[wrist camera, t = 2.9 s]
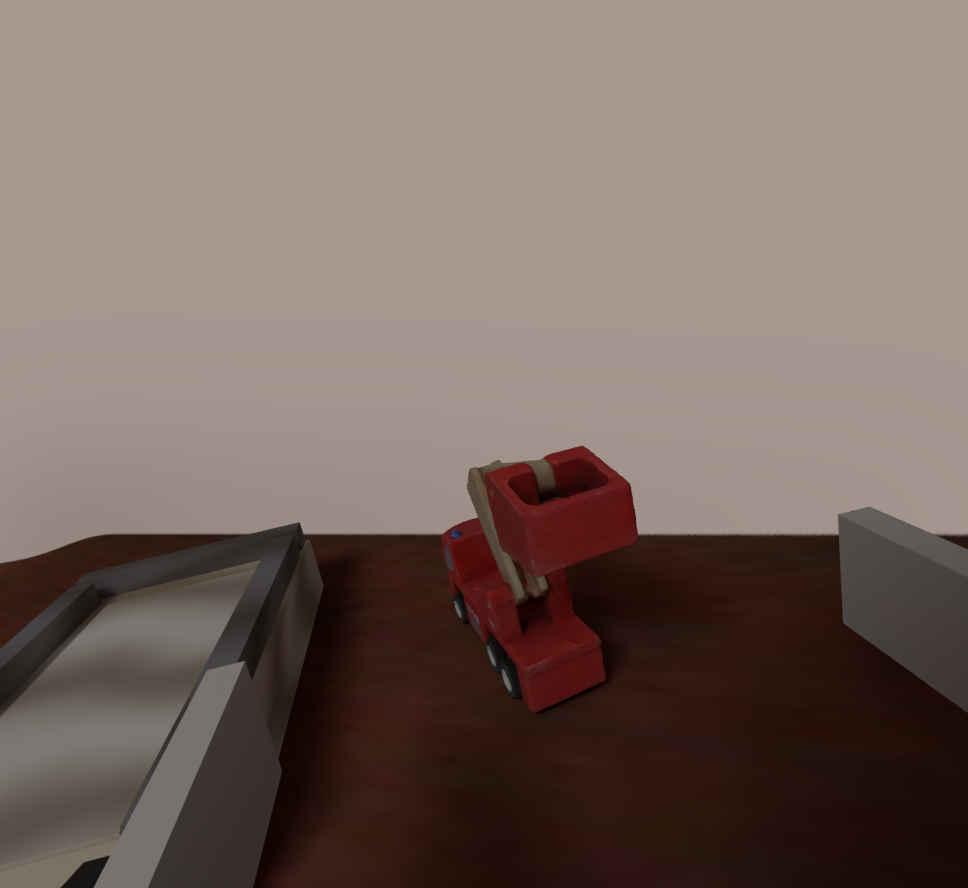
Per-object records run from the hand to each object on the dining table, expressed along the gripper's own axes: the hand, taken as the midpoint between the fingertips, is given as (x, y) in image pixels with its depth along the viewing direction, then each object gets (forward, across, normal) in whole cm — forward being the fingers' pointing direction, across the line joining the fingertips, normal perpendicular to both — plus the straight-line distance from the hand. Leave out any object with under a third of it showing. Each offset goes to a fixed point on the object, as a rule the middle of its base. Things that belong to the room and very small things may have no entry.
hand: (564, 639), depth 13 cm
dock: (+12, -16, -7) cm, 21 cm away
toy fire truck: (+10, 0, -8) cm, 12 cm away
